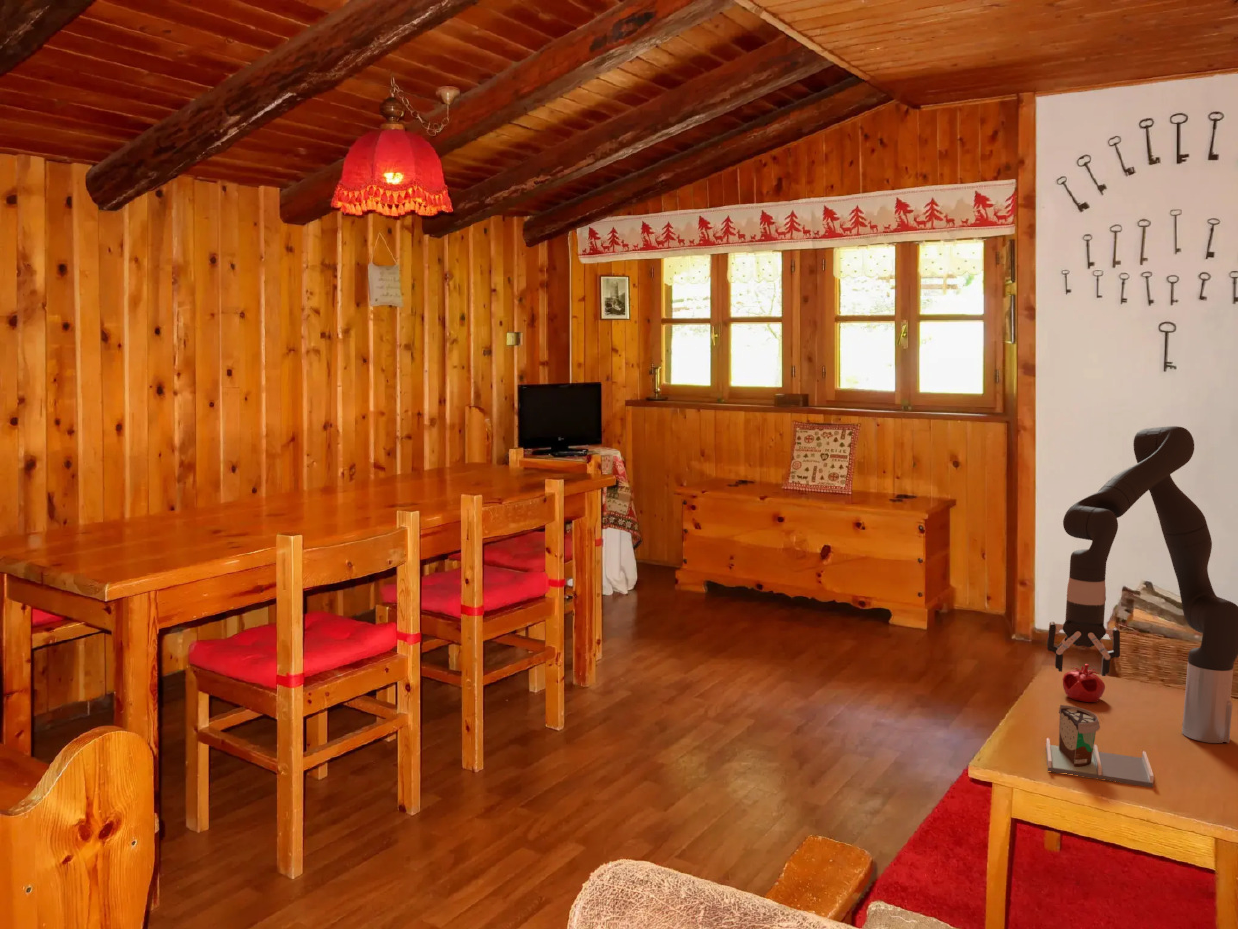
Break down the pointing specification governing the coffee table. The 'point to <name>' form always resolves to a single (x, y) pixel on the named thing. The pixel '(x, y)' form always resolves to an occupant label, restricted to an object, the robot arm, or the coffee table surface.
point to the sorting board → (1104, 766)
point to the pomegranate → (1083, 685)
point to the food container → (1077, 734)
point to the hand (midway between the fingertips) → (1081, 673)
